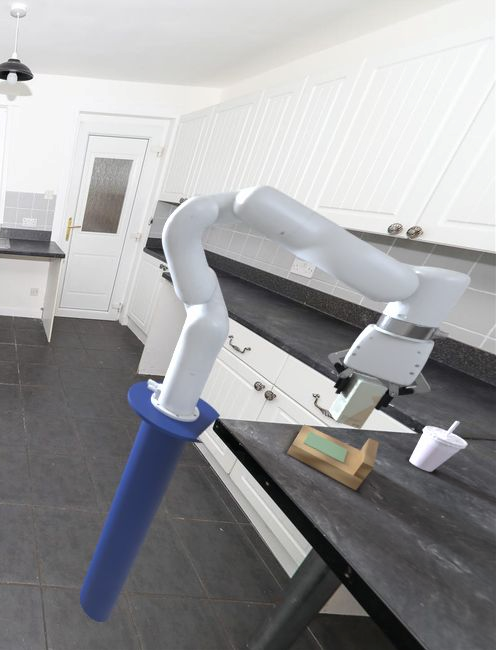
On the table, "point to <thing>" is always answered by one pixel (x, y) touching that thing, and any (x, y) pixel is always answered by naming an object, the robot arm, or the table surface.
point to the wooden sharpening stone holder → (334, 456)
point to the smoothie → (436, 447)
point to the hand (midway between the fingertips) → (357, 398)
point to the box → (357, 400)
